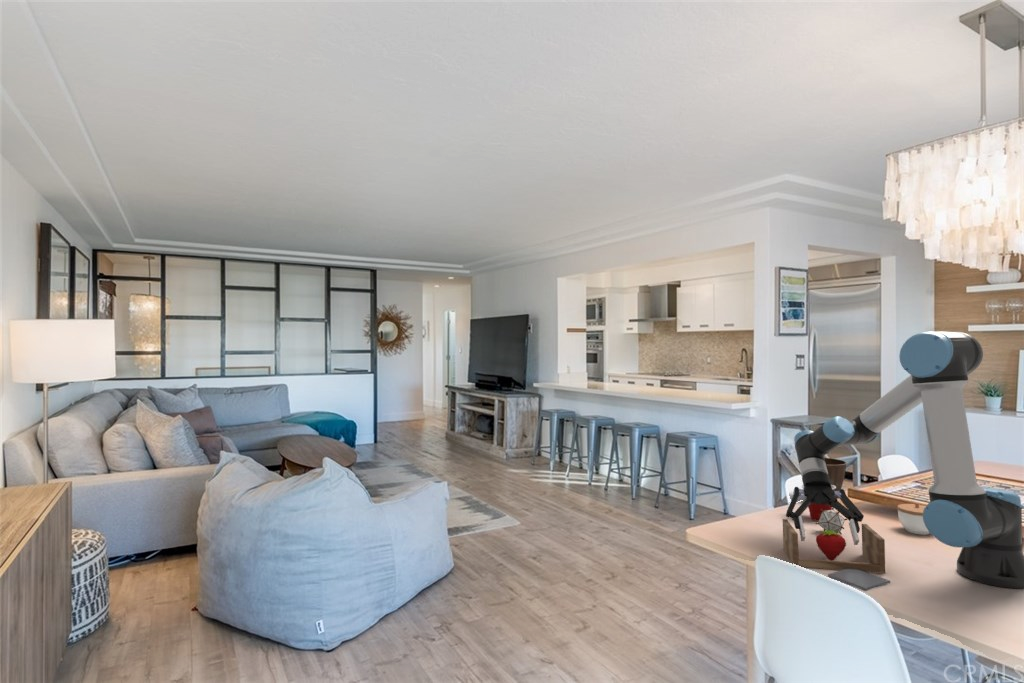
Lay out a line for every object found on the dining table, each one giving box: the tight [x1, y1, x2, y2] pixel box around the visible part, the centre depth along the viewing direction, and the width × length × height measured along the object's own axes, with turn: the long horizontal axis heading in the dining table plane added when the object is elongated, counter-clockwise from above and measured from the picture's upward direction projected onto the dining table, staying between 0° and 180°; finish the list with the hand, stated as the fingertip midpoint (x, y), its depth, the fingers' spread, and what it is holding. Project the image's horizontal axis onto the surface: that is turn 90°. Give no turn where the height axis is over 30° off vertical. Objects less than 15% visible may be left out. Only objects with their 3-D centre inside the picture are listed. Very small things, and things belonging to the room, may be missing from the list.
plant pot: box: [824, 457, 847, 500], centre depth 221 cm, size 15×15×16 cm
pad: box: [827, 568, 891, 591], centre depth 146 cm, size 10×10×1 cm
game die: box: [814, 507, 848, 535], centre depth 183 cm, size 9×8×10 cm
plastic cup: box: [801, 484, 836, 522], centre depth 198 cm, size 11×11×12 cm
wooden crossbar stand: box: [782, 518, 886, 574], centre depth 160 cm, size 14×22×9 cm, turn 75°
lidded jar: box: [897, 502, 931, 536], centre depth 183 cm, size 11×11×9 cm
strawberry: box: [815, 526, 847, 561], centre depth 160 cm, size 6×8×10 cm
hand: (829, 540), depth 159 cm, fingers open, 13 cm apart
